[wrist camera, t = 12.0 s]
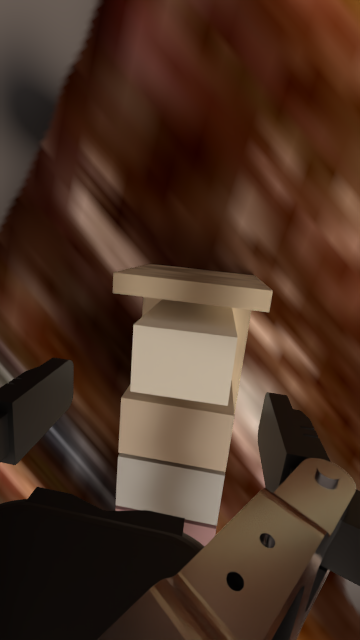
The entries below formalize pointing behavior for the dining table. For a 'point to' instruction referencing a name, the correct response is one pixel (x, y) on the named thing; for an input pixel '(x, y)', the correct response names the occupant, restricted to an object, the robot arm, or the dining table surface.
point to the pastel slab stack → (182, 407)
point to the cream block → (184, 352)
